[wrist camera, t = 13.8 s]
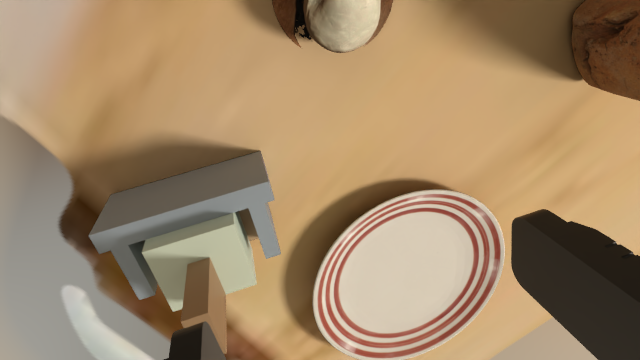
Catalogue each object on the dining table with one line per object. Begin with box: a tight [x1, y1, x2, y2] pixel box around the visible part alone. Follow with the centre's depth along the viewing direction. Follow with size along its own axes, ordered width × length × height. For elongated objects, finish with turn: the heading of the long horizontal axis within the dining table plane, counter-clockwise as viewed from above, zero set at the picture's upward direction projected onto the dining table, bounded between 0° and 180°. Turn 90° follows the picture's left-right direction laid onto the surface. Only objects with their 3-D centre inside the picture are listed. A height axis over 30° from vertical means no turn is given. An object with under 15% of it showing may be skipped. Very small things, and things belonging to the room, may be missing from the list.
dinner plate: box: [313, 189, 505, 360], centre depth 53 cm, size 28×27×3 cm
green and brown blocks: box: [142, 211, 257, 354], centre depth 35 cm, size 7×8×13 cm
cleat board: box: [89, 151, 281, 300], centre depth 40 cm, size 8×16×8 cm, turn 103°
